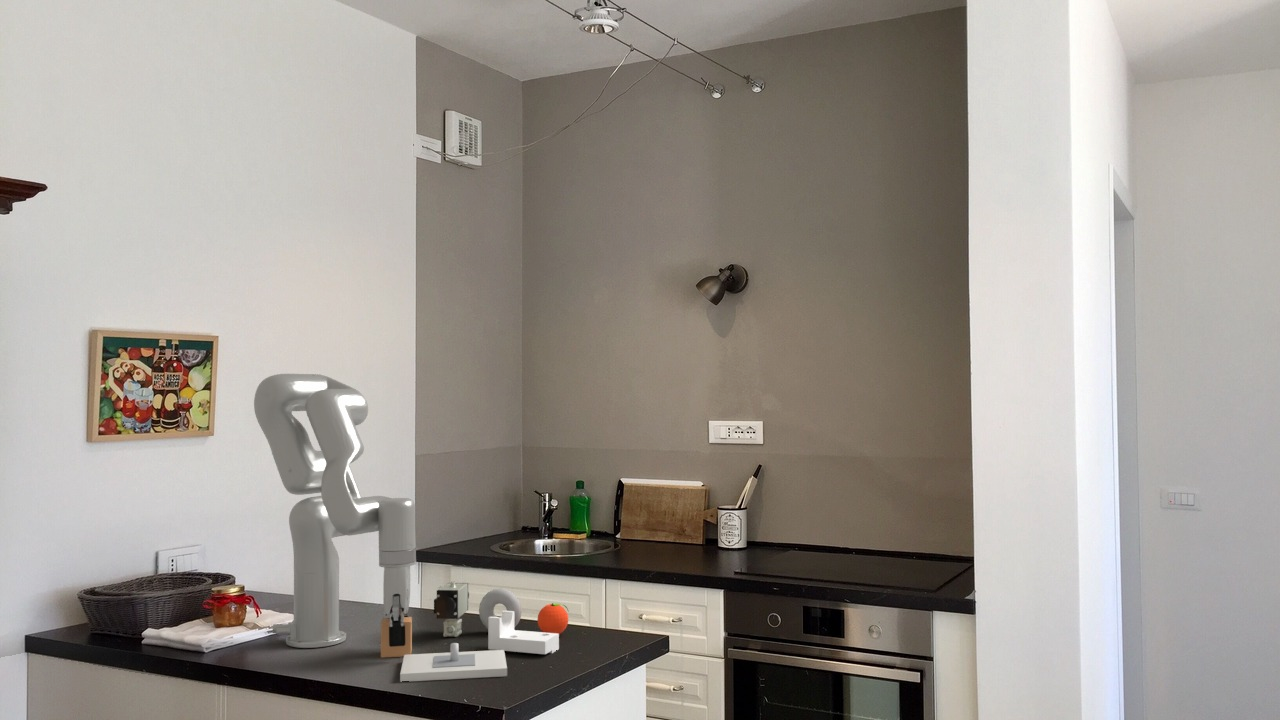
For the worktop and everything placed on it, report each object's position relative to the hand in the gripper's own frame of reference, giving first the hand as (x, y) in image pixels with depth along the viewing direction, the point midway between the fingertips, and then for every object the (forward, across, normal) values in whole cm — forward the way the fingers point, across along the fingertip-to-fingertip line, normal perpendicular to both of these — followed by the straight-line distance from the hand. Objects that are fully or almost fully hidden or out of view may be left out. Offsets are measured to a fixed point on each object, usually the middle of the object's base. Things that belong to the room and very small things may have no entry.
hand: (398, 640), depth 208 cm
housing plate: (+3, +14, +11) cm, 18 cm away
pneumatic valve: (+3, -14, +10) cm, 18 cm away
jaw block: (+3, 0, -1) cm, 3 cm away
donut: (+3, -14, +21) cm, 26 cm away
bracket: (+4, +2, +26) cm, 26 cm away
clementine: (+4, -10, +33) cm, 35 cm away
